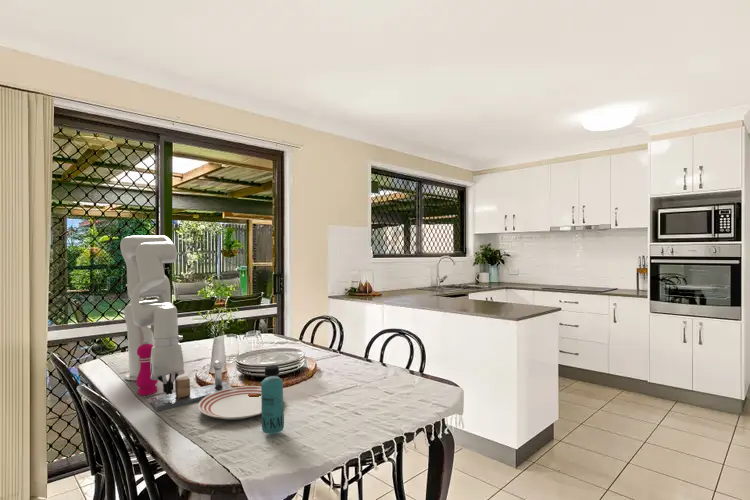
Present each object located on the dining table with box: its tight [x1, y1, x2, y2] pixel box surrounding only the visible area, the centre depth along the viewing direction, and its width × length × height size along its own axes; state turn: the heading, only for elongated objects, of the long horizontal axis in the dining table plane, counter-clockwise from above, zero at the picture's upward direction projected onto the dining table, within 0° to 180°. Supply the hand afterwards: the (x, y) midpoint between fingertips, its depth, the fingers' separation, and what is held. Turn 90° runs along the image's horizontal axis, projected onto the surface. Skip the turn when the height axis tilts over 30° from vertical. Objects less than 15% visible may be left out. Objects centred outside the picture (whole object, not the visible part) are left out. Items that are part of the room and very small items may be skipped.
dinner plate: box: [197, 385, 262, 421], centre depth 145 cm, size 28×27×3 cm
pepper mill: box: [136, 340, 159, 396], centre depth 161 cm, size 7×7×20 cm
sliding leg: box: [174, 375, 191, 398], centre depth 153 cm, size 4×4×6 cm
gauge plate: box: [150, 360, 234, 412], centre depth 155 cm, size 10×26×12 cm, turn 128°
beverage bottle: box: [260, 365, 285, 435], centre depth 125 cm, size 6×7×20 cm
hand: (168, 393), depth 150 cm, fingers closed
